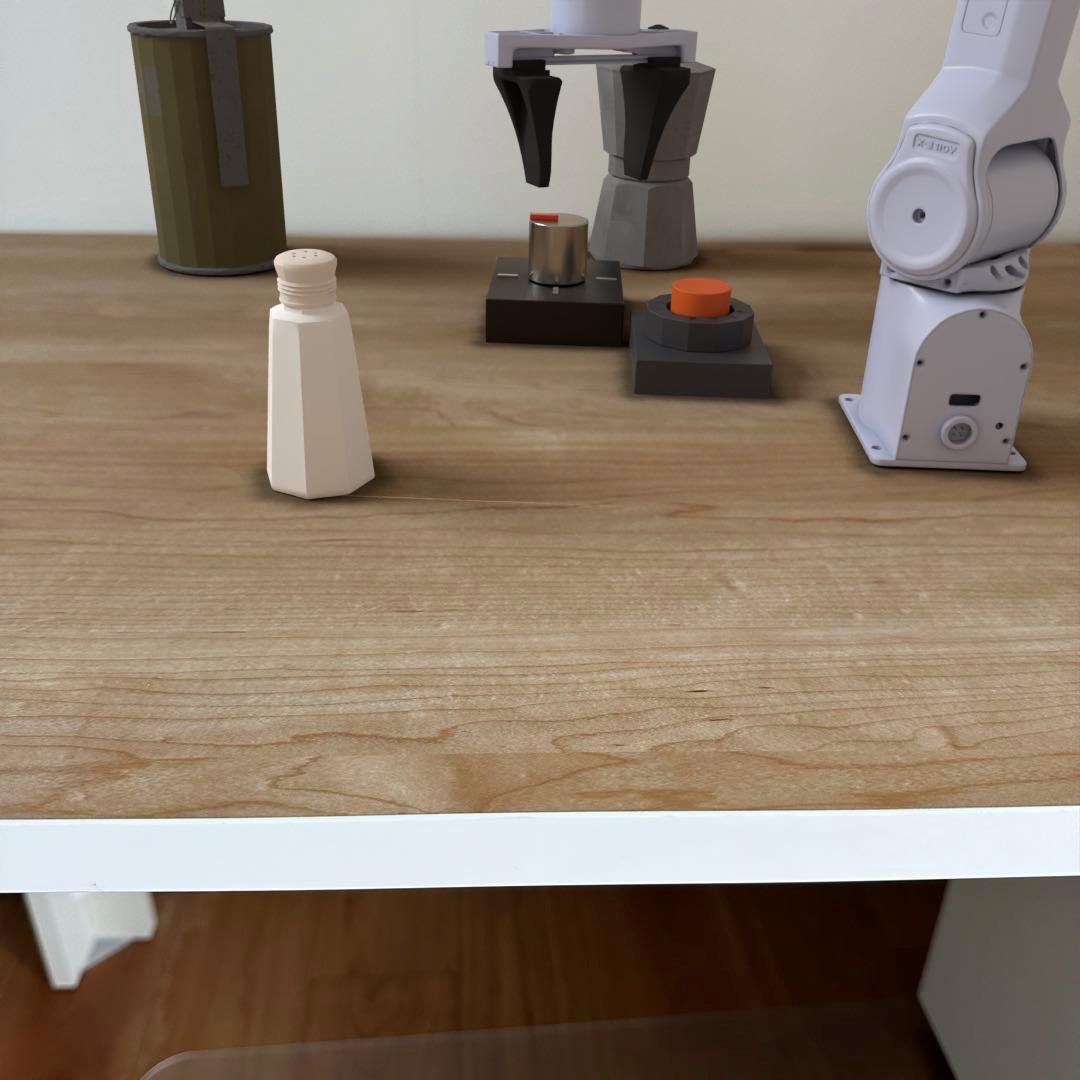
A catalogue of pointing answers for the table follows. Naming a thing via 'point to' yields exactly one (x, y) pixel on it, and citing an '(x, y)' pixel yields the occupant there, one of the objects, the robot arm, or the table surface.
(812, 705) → the table surface
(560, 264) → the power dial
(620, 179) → the coffeepot
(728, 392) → the switch block
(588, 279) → the dial panel
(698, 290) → the power button
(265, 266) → the canister
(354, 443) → the pepper shaker
